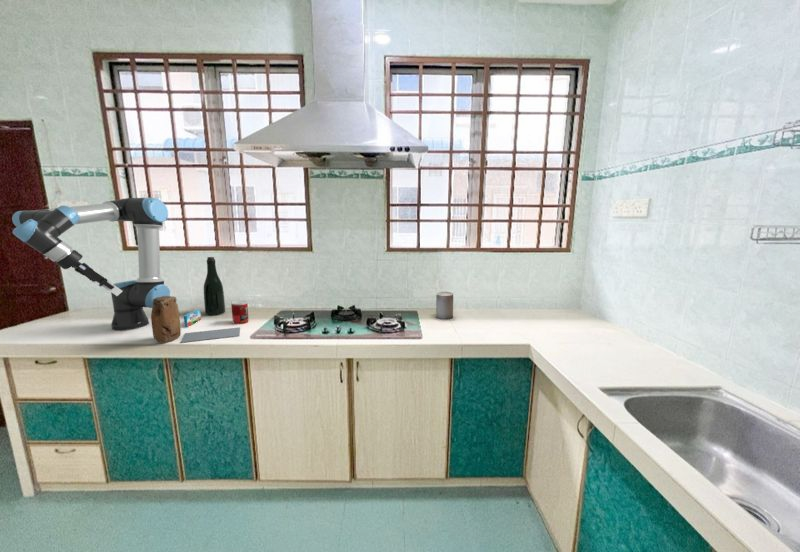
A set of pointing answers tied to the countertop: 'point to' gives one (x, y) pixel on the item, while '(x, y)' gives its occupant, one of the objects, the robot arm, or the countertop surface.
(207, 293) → the beer bottle
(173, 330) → the brown lumpy oval piece
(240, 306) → the canned food
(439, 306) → the pillar candle
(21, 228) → the robot arm
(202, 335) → the mat
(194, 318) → the blue snack box
